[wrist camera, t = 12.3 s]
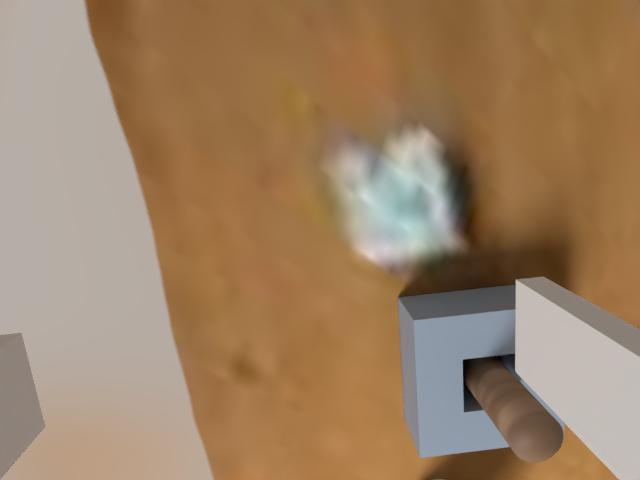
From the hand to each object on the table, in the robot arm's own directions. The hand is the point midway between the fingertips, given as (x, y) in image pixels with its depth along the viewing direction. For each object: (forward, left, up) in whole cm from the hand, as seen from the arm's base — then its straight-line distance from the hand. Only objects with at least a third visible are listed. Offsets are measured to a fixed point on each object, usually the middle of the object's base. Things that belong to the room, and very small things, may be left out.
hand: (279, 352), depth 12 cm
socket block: (+18, +17, -32) cm, 40 cm away
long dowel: (+18, +17, -32) cm, 40 cm away
